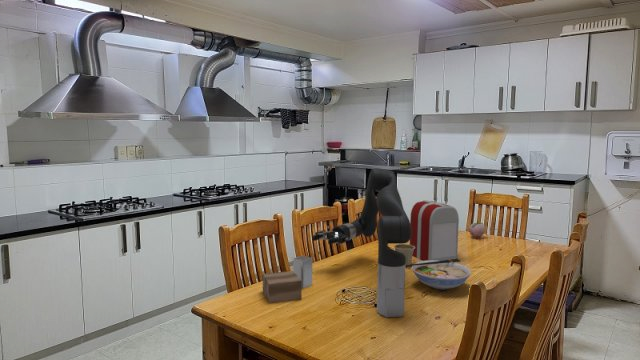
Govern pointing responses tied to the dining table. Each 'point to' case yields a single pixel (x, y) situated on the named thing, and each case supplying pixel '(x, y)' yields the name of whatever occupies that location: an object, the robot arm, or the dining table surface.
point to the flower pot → (405, 251)
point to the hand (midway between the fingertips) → (320, 240)
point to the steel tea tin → (303, 269)
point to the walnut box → (282, 286)
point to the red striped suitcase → (434, 231)
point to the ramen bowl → (441, 273)
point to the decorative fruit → (477, 229)
